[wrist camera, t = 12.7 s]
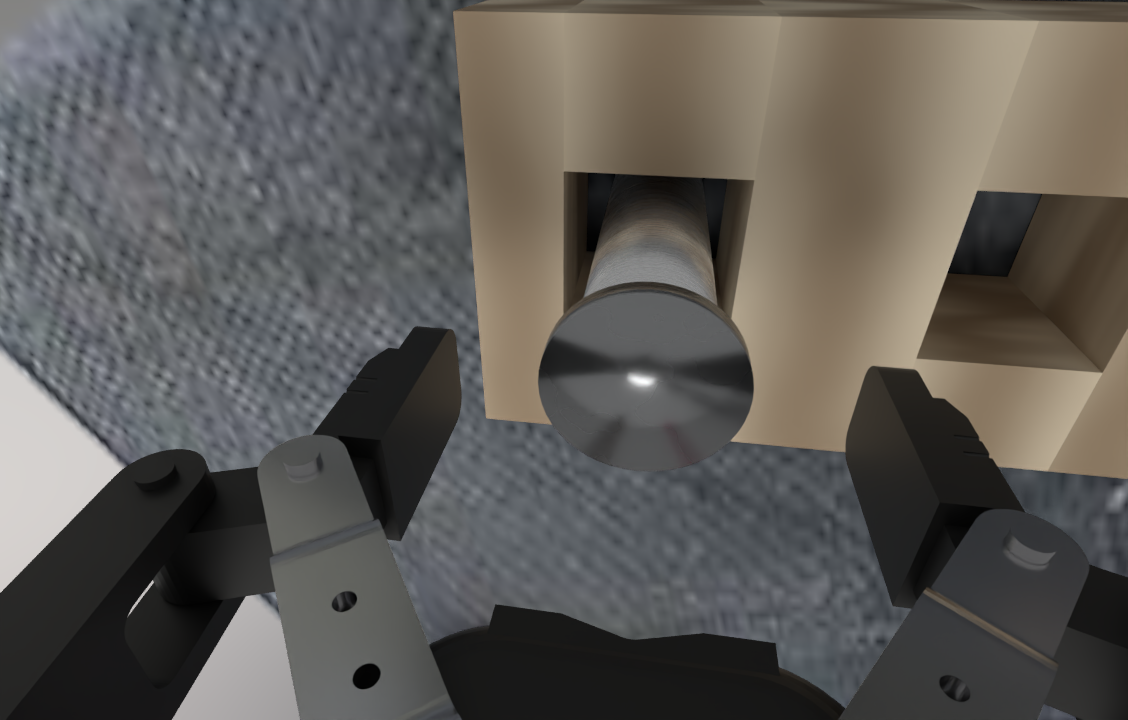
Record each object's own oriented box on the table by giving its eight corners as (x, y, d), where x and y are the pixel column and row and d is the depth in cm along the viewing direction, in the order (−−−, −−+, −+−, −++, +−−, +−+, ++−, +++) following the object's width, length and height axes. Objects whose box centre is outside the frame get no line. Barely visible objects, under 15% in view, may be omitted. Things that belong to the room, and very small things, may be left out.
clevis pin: (726, 133, 21) (772, 305, 11) (709, 251, 23) (736, 480, 13) (599, 128, 22) (535, 288, 12) (595, 245, 24) (539, 460, 14)
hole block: (1228, 3, 17) (1449, 27, 12) (1045, 368, 24) (1141, 480, 19) (509, -7, 20) (453, 11, 15) (522, 328, 26) (486, 418, 21)
